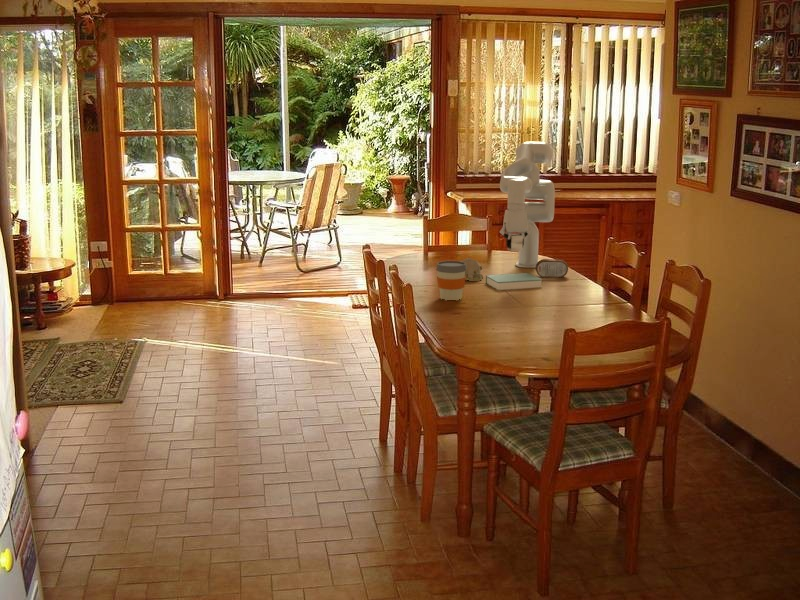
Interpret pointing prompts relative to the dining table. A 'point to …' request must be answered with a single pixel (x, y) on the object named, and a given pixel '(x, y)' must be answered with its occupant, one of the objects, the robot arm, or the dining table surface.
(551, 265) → the tin
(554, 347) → the dining table surface
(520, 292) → the dining table surface
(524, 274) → the book
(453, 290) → the reusable coffee cup
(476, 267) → the ceramic model
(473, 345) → the dining table surface
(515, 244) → the block
